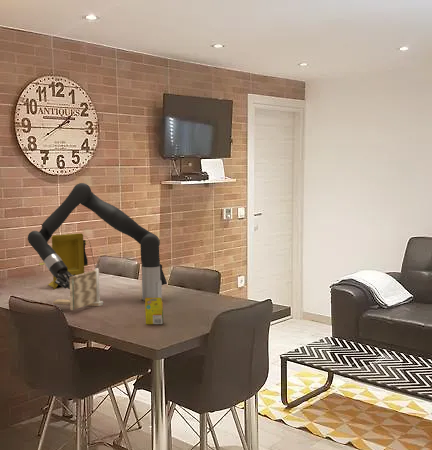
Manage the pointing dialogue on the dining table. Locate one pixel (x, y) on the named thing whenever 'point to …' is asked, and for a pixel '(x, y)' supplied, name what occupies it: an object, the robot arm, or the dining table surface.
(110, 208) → the robot arm
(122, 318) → the dining table surface
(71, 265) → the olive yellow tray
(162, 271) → the door stopper
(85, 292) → the beige zigzag patterned panel
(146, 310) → the crayon box
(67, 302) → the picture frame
